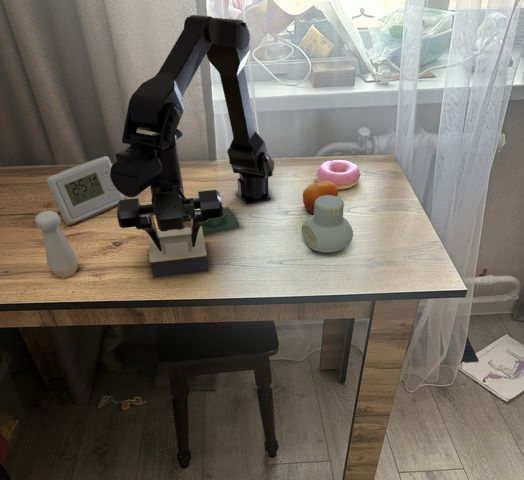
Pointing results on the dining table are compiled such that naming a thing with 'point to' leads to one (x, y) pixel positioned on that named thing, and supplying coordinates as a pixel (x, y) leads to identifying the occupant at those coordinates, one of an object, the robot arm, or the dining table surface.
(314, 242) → the air freshener
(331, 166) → the doughnut
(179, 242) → the beige panel
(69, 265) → the salt shaker
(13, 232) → the dining table surface
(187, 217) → the robot arm
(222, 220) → the alarm box
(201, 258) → the dark rimmed tray
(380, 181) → the dining table surface
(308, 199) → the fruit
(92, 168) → the digital clock
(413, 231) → the dining table surface
